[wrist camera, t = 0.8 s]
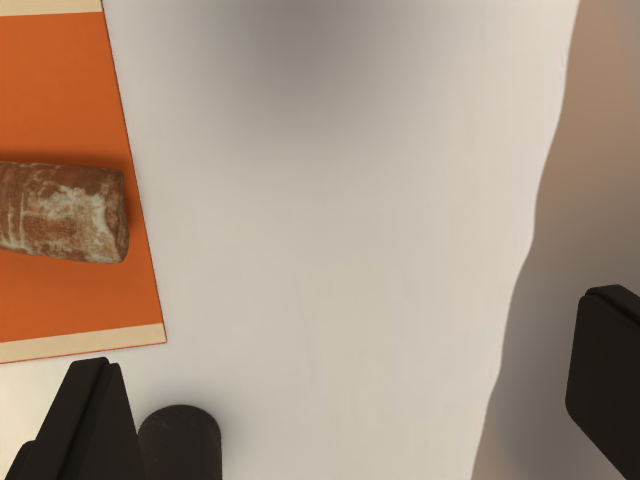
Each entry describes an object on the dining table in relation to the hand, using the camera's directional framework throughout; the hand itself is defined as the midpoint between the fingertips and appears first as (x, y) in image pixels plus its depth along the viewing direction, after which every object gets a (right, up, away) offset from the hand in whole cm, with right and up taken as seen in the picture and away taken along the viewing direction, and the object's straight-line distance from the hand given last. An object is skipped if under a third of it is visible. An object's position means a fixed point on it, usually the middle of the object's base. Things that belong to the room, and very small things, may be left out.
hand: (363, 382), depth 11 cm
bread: (-23, +6, +25) cm, 34 cm away
